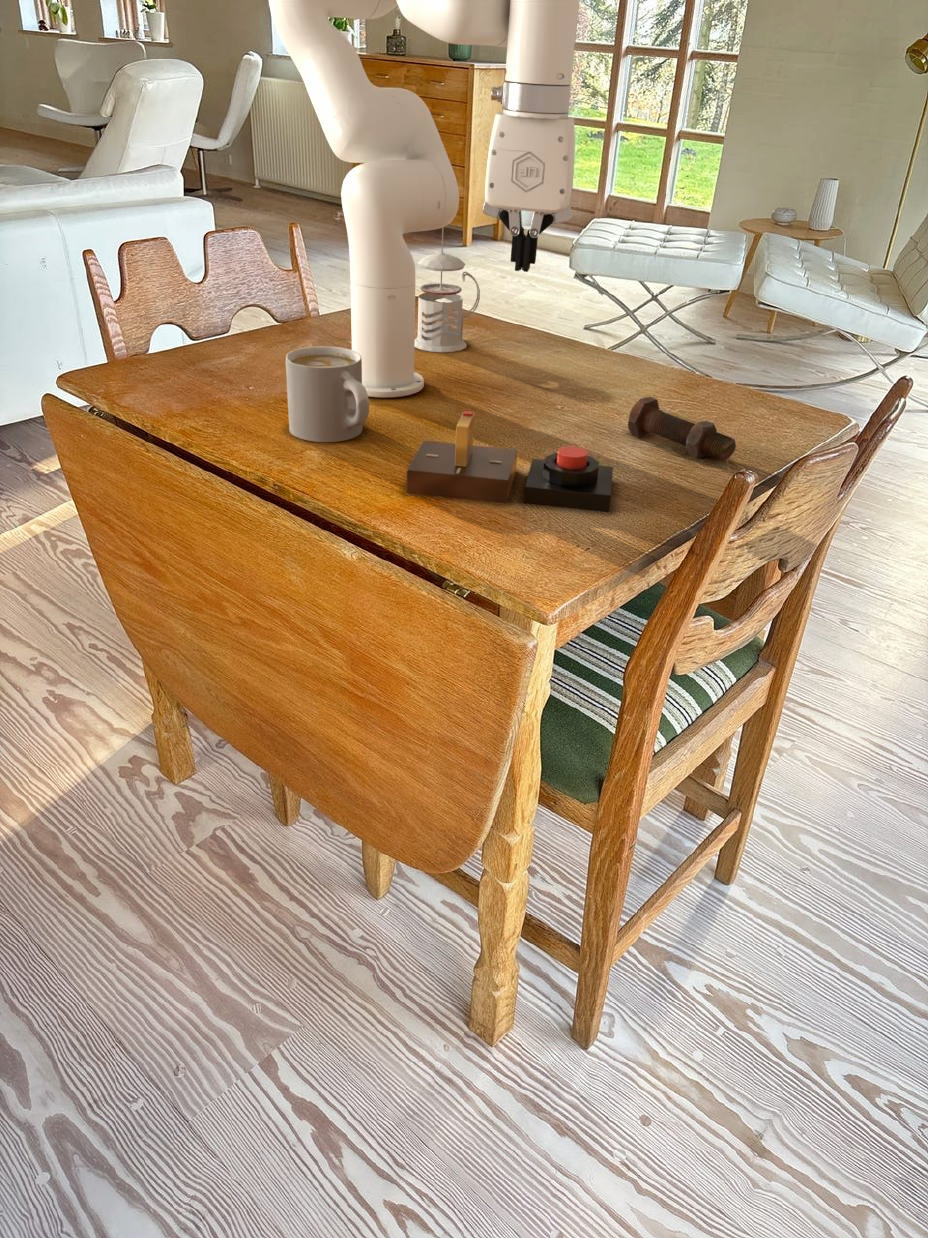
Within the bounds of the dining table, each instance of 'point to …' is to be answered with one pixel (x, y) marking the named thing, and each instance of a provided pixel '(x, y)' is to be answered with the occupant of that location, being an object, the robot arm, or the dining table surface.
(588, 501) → the button box
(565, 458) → the red button
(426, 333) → the french press
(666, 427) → the bolt
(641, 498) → the dining table surface
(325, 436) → the coffee mug
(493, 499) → the plate
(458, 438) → the gold slab
